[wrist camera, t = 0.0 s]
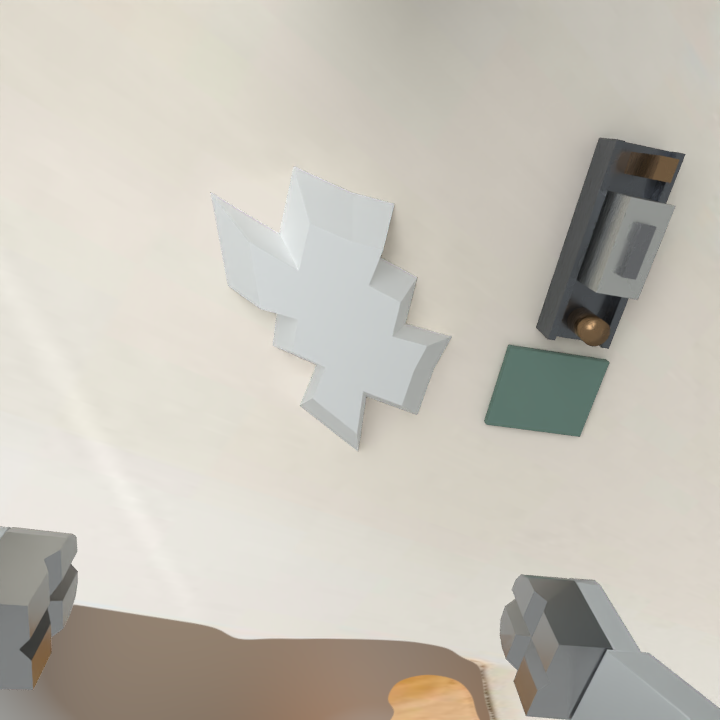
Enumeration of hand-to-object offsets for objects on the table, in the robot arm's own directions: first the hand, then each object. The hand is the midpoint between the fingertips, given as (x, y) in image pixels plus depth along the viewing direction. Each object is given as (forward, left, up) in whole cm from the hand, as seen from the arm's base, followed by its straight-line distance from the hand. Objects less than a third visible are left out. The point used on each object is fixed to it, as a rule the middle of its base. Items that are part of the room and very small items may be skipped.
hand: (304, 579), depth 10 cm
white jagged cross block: (+11, +5, -50) cm, 51 cm away
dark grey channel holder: (-1, +30, -49) cm, 57 cm away
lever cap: (-2, +30, -47) cm, 56 cm away
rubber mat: (+17, +30, -49) cm, 60 cm away
